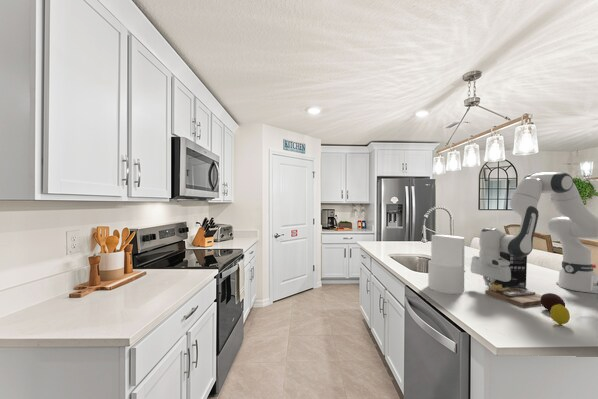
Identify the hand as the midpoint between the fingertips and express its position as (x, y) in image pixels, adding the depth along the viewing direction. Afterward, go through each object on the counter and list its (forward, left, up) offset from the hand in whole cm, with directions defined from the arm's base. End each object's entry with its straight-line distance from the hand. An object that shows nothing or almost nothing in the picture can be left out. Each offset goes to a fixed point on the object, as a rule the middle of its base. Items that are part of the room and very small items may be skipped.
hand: (489, 285), depth 148 cm
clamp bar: (-6, +11, -1) cm, 13 cm away
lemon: (+10, +37, -4) cm, 39 cm away
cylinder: (+17, -12, -4) cm, 21 cm away
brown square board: (-5, +11, -4) cm, 13 cm away
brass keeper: (0, +5, -1) cm, 5 cm away
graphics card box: (-21, -7, -4) cm, 23 cm away
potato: (-3, +27, -4) cm, 27 cm away
